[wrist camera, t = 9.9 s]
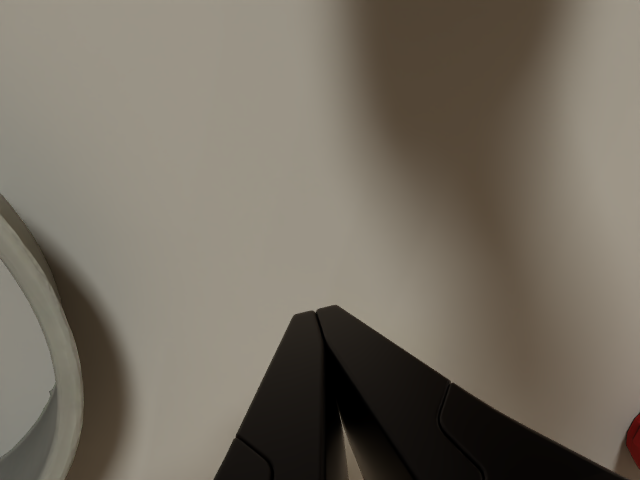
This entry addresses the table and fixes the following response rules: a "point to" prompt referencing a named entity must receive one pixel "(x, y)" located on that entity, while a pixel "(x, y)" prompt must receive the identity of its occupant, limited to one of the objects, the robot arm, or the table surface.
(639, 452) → the plastic cup
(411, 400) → the robot arm
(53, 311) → the grey round tray
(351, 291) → the table surface
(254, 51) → the table surface
